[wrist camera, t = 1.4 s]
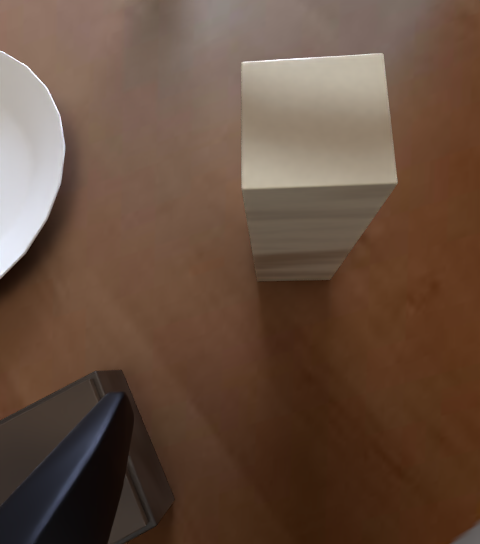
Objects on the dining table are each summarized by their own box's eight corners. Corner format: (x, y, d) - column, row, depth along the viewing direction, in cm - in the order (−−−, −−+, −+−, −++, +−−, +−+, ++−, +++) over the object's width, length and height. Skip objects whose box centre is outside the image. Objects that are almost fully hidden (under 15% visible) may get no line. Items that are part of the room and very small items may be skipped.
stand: (175, 499, 21) (154, 529, 18) (46, 569, 21) (-4, 615, 17) (121, 369, 23) (92, 370, 20) (3, 431, 23) (-51, 444, 19)
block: (330, 280, 24) (398, 183, 11) (256, 281, 24) (241, 189, 11) (326, 211, 25) (384, 52, 12) (256, 213, 25) (240, 61, 13)
